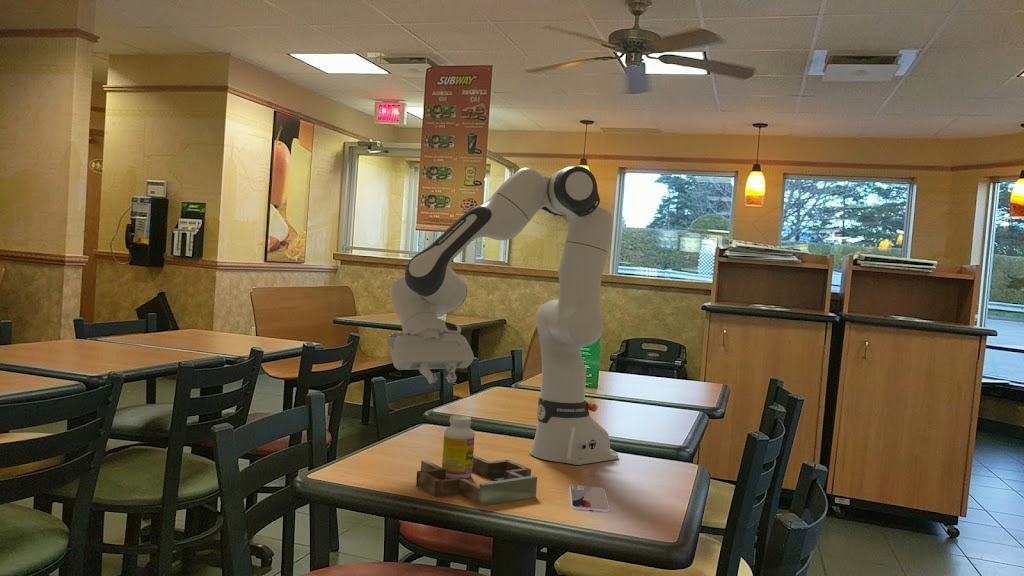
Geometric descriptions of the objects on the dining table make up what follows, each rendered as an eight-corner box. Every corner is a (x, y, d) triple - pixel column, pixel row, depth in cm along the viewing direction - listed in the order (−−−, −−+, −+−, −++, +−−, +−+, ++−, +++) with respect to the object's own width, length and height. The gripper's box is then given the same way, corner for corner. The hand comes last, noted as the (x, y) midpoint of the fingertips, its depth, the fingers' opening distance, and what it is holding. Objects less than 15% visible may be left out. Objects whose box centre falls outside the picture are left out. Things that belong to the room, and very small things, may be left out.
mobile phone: (571, 506, 140) (569, 483, 155) (571, 511, 140) (568, 488, 155) (610, 509, 139) (604, 486, 154) (610, 514, 140) (604, 491, 154)
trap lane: (400, 477, 153) (401, 458, 153) (489, 465, 168) (490, 448, 168) (459, 509, 135) (461, 488, 135) (554, 493, 149) (555, 474, 149)
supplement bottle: (467, 481, 154) (471, 421, 153) (437, 477, 155) (441, 418, 155) (475, 473, 160) (479, 416, 160) (446, 470, 161) (450, 412, 161)
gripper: (389, 324, 163) (408, 374, 155) (465, 325, 175) (485, 371, 168) (379, 342, 166) (397, 391, 159) (454, 341, 179) (473, 387, 171)
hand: (443, 381), depth 163 cm, fingers open, 4 cm apart
